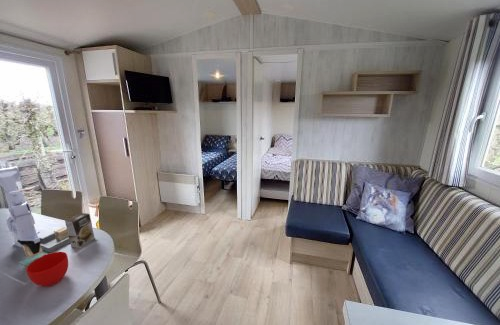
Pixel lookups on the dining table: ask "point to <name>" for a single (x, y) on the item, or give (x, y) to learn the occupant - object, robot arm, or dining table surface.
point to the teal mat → (32, 259)
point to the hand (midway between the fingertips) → (33, 251)
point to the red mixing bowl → (48, 269)
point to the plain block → (61, 234)
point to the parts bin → (52, 243)
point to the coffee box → (79, 230)
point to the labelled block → (29, 252)
